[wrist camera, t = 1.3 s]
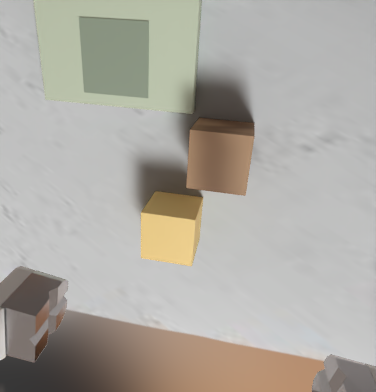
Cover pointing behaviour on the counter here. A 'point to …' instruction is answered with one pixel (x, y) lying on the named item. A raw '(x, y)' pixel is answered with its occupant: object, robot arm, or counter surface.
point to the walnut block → (220, 155)
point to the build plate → (120, 52)
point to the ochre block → (171, 228)
